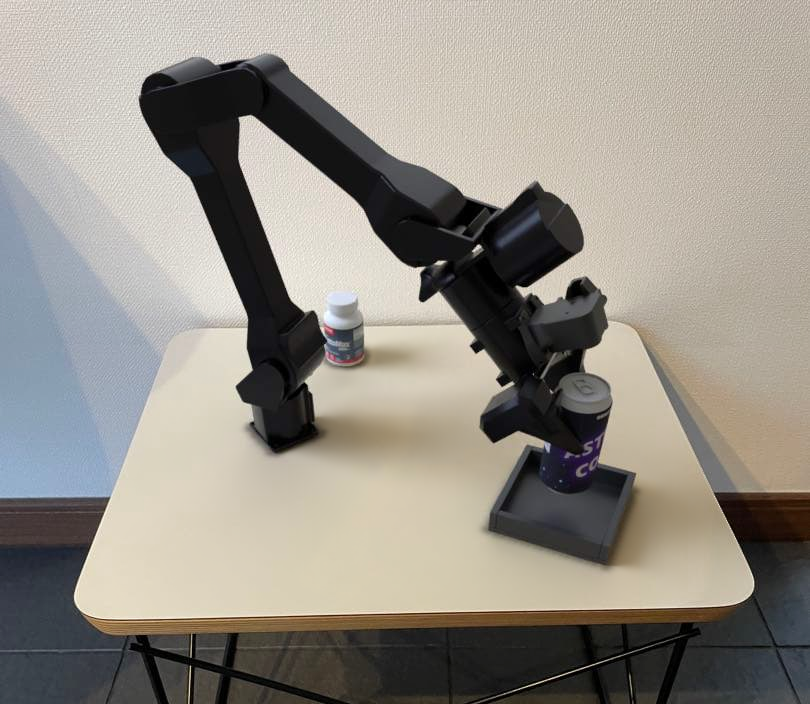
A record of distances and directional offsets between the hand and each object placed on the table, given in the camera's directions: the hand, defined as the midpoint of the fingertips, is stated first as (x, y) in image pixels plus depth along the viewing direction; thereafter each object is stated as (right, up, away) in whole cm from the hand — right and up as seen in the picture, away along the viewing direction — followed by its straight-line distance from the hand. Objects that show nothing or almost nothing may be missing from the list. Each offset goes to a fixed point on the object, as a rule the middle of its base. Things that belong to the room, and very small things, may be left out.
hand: (588, 436), depth 76 cm
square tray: (-1, -7, +8) cm, 10 cm away
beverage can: (-1, -4, +5) cm, 7 cm away
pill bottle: (-26, +15, +30) cm, 42 cm away
